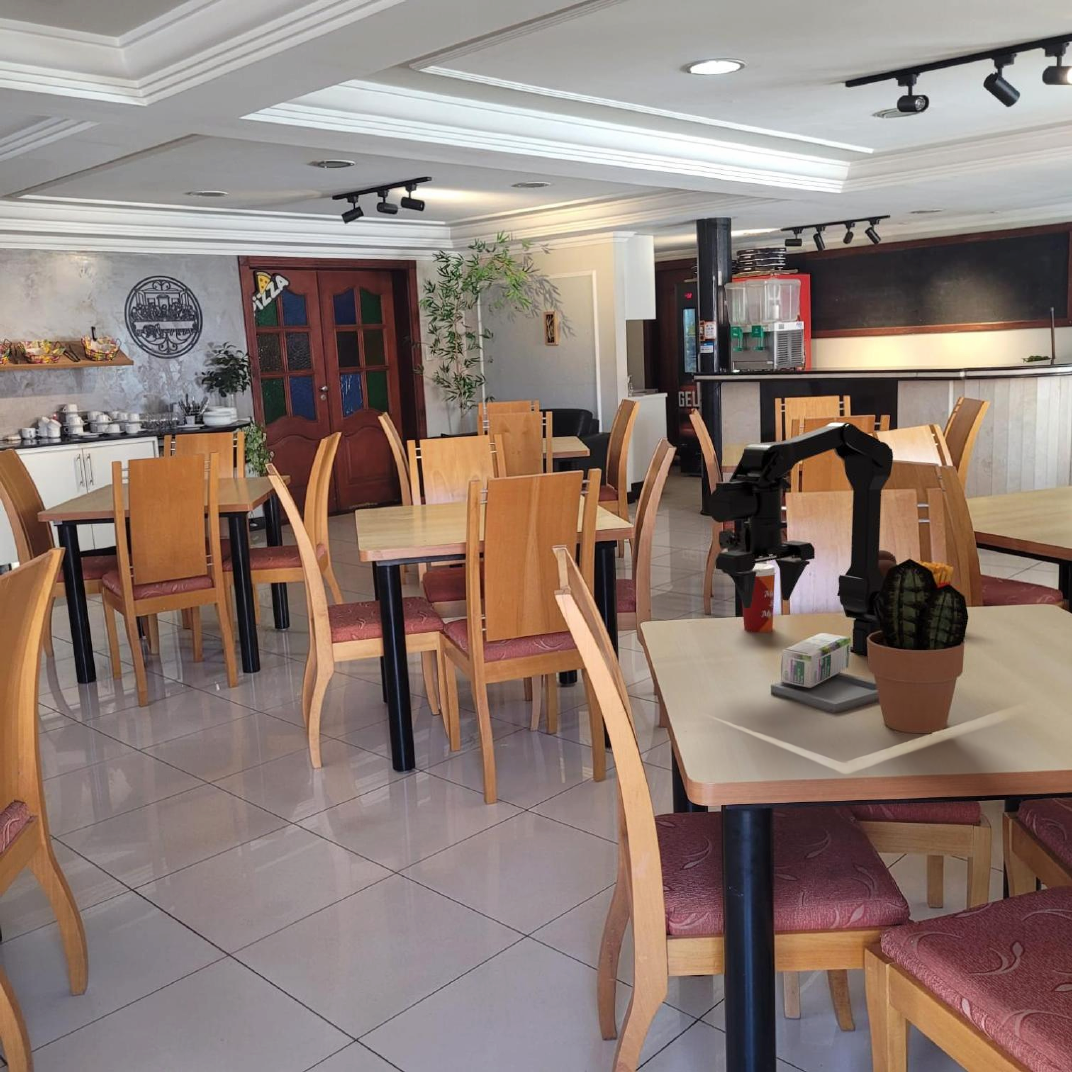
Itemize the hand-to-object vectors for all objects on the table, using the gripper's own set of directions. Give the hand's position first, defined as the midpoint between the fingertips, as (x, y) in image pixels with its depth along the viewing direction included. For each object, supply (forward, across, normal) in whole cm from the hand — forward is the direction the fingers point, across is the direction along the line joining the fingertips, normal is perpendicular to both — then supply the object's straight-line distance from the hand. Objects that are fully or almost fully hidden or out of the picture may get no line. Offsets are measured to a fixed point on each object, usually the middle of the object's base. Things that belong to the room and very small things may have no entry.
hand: (766, 604), depth 186 cm
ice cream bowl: (+13, -46, -14) cm, 50 cm away
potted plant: (+13, +2, +33) cm, 36 cm away
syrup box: (+9, -10, +7) cm, 15 cm away
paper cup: (+13, -21, -24) cm, 34 cm away
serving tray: (+13, 0, +15) cm, 20 cm away
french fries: (+13, -50, -5) cm, 52 cm away
